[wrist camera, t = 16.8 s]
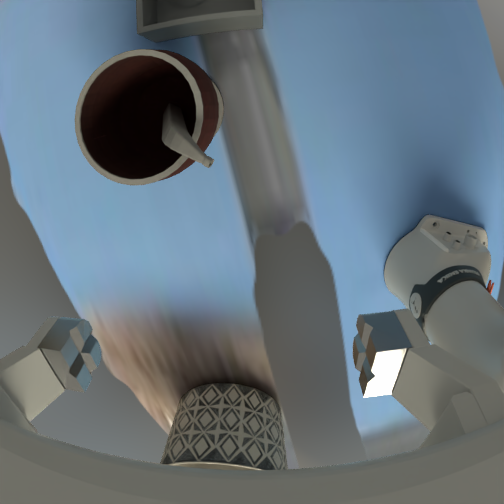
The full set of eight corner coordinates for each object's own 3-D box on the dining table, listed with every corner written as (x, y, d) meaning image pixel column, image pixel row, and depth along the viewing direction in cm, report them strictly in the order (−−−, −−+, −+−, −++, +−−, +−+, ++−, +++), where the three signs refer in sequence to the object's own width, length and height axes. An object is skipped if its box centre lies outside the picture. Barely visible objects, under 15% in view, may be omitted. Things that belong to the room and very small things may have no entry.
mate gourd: (120, 134, 41) (37, 162, 23) (161, 50, 35) (91, 20, 17) (210, 179, 44) (174, 236, 26) (258, 95, 38) (255, 86, 21)
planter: (190, 429, 74) (177, 498, 54) (163, 369, 62) (137, 454, 43) (286, 429, 72) (288, 502, 53) (285, 367, 61) (290, 462, 41)
